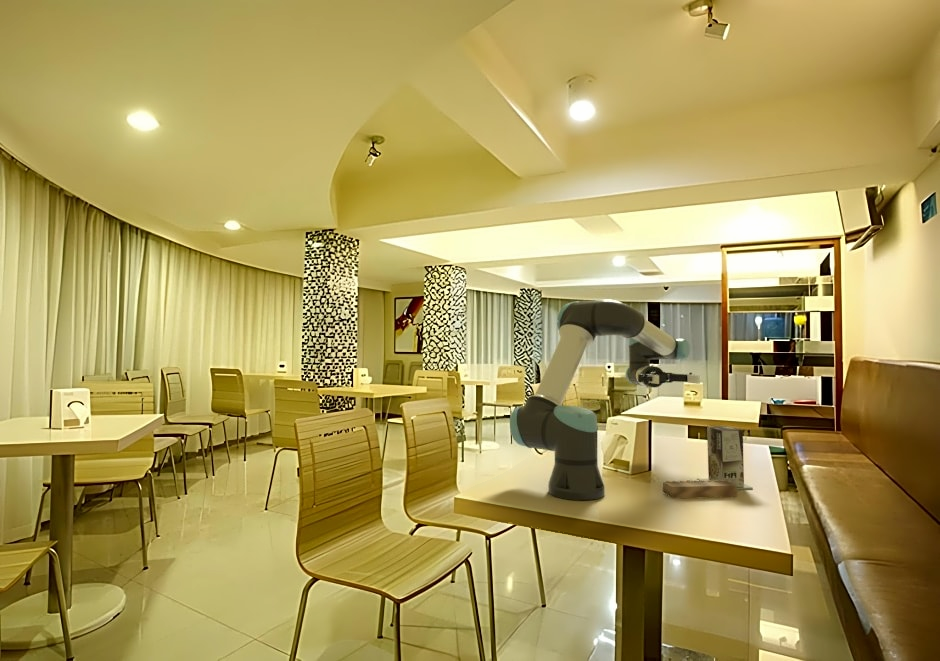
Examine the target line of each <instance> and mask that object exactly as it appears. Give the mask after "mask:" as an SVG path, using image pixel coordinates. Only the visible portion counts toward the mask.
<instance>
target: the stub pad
mask: <svg viewBox="0 0 940 661" xmlns="http://www.w3.org/2000/svg"><path fill="white" fill-rule="evenodd" d="M697 480H699V481H700V480H704V481H707V480H709V478H696V481H697ZM737 489H742V490H743V489H744V490H753V487H752V486H750V485H748V484H745V483H744V487H737Z"/></svg>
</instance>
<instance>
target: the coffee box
mask: <svg viewBox="0 0 940 661" xmlns="http://www.w3.org/2000/svg"><path fill="white" fill-rule="evenodd" d="M706 432H707V435H706V436H707V437H706V438H707V440H706V441H707V466H708V468H707V469H708V479H709V480H711V481H714V480H718V481H721V480H725V481H728V482H730V483H732V484H735V485H737V487H744V484H745V477H744V476H745V468H744V467H745V466H744V463H745V462H744V430H743V429H741V428H740V429H739V428H734V427H732V426H726V425H719V426H716V425H715V426H707V427H706Z"/></svg>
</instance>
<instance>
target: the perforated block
mask: <svg viewBox="0 0 940 661" xmlns="http://www.w3.org/2000/svg"><path fill="white" fill-rule="evenodd" d="M663 492H664V493H665V495H666V494H667V495H666V496H668V495H669V496H670V498H671V497H672V498H671V499H697V497H707V498H729V497H728V496H737V497H738V490H737V485H735V484H732V483H730V482H728V481H725V480H721V481H718V480H714V481H711V480H707V481H704V480H700V481H697V479H695V480H694V479H693V480H685V481H684V480H679V481H676V480H672V481H669V480H666V481H662V493H663ZM664 493H663V494H664ZM669 496H668V497H669Z"/></svg>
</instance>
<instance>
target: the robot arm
mask: <svg viewBox="0 0 940 661" xmlns="http://www.w3.org/2000/svg"><path fill="white" fill-rule="evenodd" d="M556 324H557V326H556V327H557V330H558V334H559V336H560V339H559V341H558V343H557V345H556V348H555V350H554V352H553V354H552V356H551V359H550V360H549V363H548V365H547V368H546V370H545V372H544V374H543V376H542V378H541V381H540V383H539V385H538V387H537V389H536V391H535V394H532V395H529V396H528V397H527V400H526V402H525V403H524V406H523V405H522V406H521V405H520V406H517V407H515V408H514V410H512V412H511V414H510V418H509V429H510V430H509V431H510V434H511V437H512V439H513V441H514V442H515V443H516V444H518V445H519V446H521V447H522V446H523V447H526V448H529V449H537V450H545V451H549V452H550V451H551V452H554V464H553V468H552V472H551V475H550V477H549V481H548V486H547V487H548V493H549V494H550V495H552V496H553V497H556V498H560V499H564V500H571V501H572V500H573V501H592V500H598V499H601V498H603V497H605V493H606V492H605V485H604V481H603V479H602V478H603V477H602V475H601V472H600V470H599V466H598V430H599V427H598V420H597V419H598V417H597V414H596V413H595V411H592V410H591V409H590V408H589V409H588V408H586V407H580V406H575V405H566V404H565V405H563V403H564V400H565V398H566V396H567V393H568V392H569V389H570V386H571V384H572V381H573V378H574V377H575V373H576V372H577V369H578V366H579V364H580V362H581V359H582V357H583V355H584V352H585V350H586V348H588V347H589V348H590V347H591V346H592V345H593V343H594V341H595V339H596V337H600V336H601V337H603V336H621V337H623V338H625V339H628V341H629V342H628V353H629V354H628V356H629V363H628V364H629V365H628V368H627V369H626V371H625V378H626V380H627V381H628V382H629V383H630V384H632V385H634V386H643V387H645V388H646V389H649V388H658V387H660V386H661V385H663V384H669V383H671V384H672V383H673V382H680V383H683V382H685V383H689V384H698V385H699V384H700V382H701V381H700V380H701V379H700V378H701V377H700V375H699V374H693V372H689V374H687V373H686V374H685V373H672V372H665V371H663V370H662V368H660V367H658V366H651V365H650V364H651V360H676V361H680V360H686V359H687V358H689V356H690V350H691V348H690V343H689V341H688V340H687V339H684V338H674V337H672V336H671V335H670V334H668V333H667V332H666V331H663V330H662V329H661V328H659V327H657V326H656V325H654V323H652V322H650V321H648V320H647V319H646V318H645V316H644V314H643V313H642V312H641V311H639V310H638V309H636V308H634V307H632V306H631V305H628V304H626V303H623V302H621V301H618V300H615V299H614V300H613V299H598V300H595V299H594V300H584V301H581V300H580V301H579V300H576V301H573V302H568V303H566V304H564V305H563V306H562V307H561V308H560V310H559V311H558V315H557V323H556Z"/></svg>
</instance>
